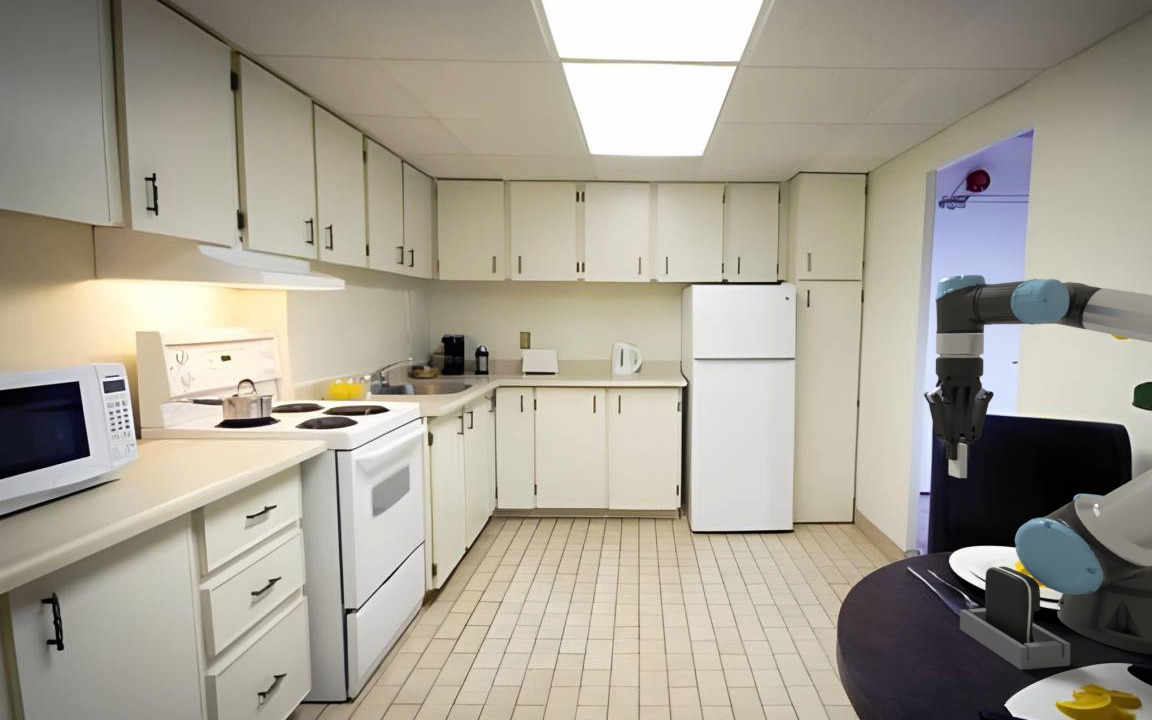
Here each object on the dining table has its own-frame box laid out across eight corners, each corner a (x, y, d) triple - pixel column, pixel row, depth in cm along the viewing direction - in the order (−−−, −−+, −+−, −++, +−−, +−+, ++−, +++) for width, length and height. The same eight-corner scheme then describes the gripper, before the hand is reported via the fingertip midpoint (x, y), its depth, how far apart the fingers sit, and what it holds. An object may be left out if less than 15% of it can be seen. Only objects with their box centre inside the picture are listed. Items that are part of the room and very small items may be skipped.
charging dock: (1003, 625, 94) (1004, 606, 94) (1069, 665, 83) (1070, 643, 83) (959, 629, 94) (960, 609, 93) (1020, 669, 82) (1021, 647, 82)
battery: (1043, 648, 85) (1045, 579, 85) (1024, 651, 84) (1026, 581, 84) (1000, 625, 92) (1001, 561, 92) (983, 628, 91) (983, 563, 91)
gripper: (973, 354, 107) (971, 470, 108) (913, 356, 106) (912, 472, 107) (1007, 356, 99) (1005, 479, 100) (943, 357, 98) (941, 482, 99)
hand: (957, 476), depth 103 cm, fingers closed
